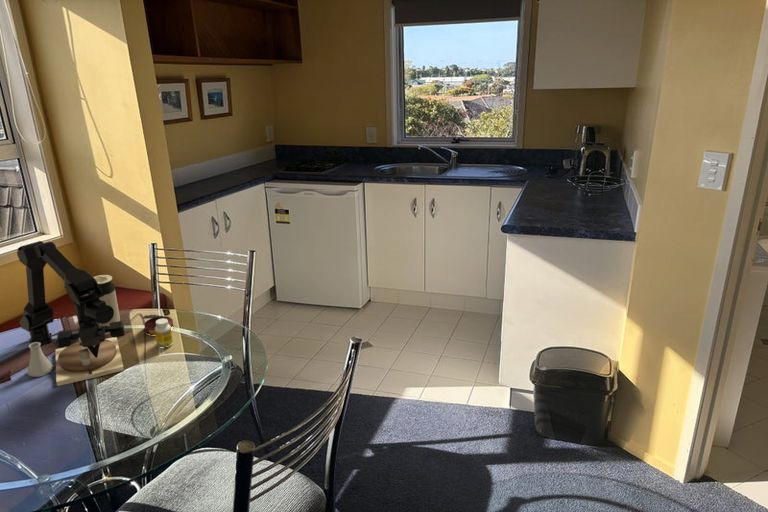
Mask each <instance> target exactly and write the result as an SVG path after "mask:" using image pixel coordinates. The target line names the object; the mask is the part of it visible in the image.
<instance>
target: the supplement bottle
mask: <svg viewBox="0 0 768 512" xmlns="http://www.w3.org/2000/svg"><path fill="white" fill-rule="evenodd" d="M155 335H156V336H155V340H156V341H155V342H156V346H157V347H158V348H159V347H166V346H169V345H170V344H171V343H172V342H173V343H174V339H173V330H172V331H171V326H170V325H169V324H168V320H167V319H164V318H163V319H158V320H157V321H156V327H155Z"/></svg>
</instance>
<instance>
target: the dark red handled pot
mask: <svg viewBox="0 0 768 512" xmlns="http://www.w3.org/2000/svg"><path fill="white" fill-rule="evenodd" d="M163 318H164V319H167V320H168V324H169V325H170V326H171V327H172V326H173V327H174V319H173V318H172V317H170V316H166V315H157V314H150V315H149V314H145V315H144V316H142V319H144V320H146V319H147V321H145V322H144V324H143V325H144V331H145V334H146V333H147V334H150V335H155V327H156V321H157V320H158V319H163ZM147 334H146V335H147Z"/></svg>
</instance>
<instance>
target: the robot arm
mask: <svg viewBox="0 0 768 512" xmlns="http://www.w3.org/2000/svg"><path fill="white" fill-rule="evenodd" d="M16 255H17V258H18V260H19V262H20V263H21V264H22V265H23V266H25V272H26V274H25V275H26V285H27V287H26V288H27V297H28V299H27V300H28V301H27V303H26V305H25V306H24V308H23V311H22V312H23V316H22V317H21V319H20V321H19V325H20V327H21V329H23V330H25V331H26V332H28V333H29V336H30V338H29V345H30V344H31V343H34V342H39V343H41V345H44V344H49V343H52V340H53V339H52V338H53V337H52V332H50V330H49V324H51V323H52V324H53V323H54V309H53V308H52V307H51V306H50V305H49V304H48V303H47V301H46V286H45V271H44V270H45V269H44V268H45V266H46V265H48V266H49V267H50V268H51V269H52V270H53V271H54V272H55V273H56V275H58V276H59V277H60V279H61V280H63V283H64V284H63V287H64V289H65V291H66V293H67V294H68V296H69V299H70V300H72V301H73V305H74V310H75V315H76V317H77V322H78V323H77V325H78V327H79V328H78V332H74V333H73V331H72V329H68V330H62V331H59V332H58V333H57V335H56V345H57V348H58V349H60V348H65V347H68V346H70V345H72V344H73V343H72V341H76V340H78V341H79V342H80V345H81V346H83V347H87V348H88V349H89V350H90V351H91V352H92V354H93V355H94V356H95V358H97V357H98V351H99V346H100V344H101V342H103V341H105V339H107V338H106V336H107V335H109V334H110V337H111V338H115V337H117V338H119V337H123V336H126V335H125V324H124V322H123V321H122V320H120V321H118V322H113V323H110V326H107V327H105V326H100V323H101V324H105V323H108V322H109V321H110V320H111V319H112V318H113V316H114V310H113V308H112V307H111V306H109V305H107V304H106V302H105V301H102V300H100V297H103V296H104V294H103V292H102V289H101V287H100V286H99V284H98V283H97V281H96V280H95V279H94V277H95V276H92V274H89V272H88V271H86V270H84V269H79V268H78V267H76V266H75V265H73V263H72V262H71V261H70V260H68V258H67V257H66V256H65V255H64V254H62V252H61V251H60V250H59V249H58V247H57V246H56V244H55V243H54V241H46V242H43V241H41V240H38V241H34V242H31V243H28V244H24V245H21V246H19V247H17V250H16ZM94 290H95V293H93V294H91V292H93V291H94ZM94 345H95V346H94Z"/></svg>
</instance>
